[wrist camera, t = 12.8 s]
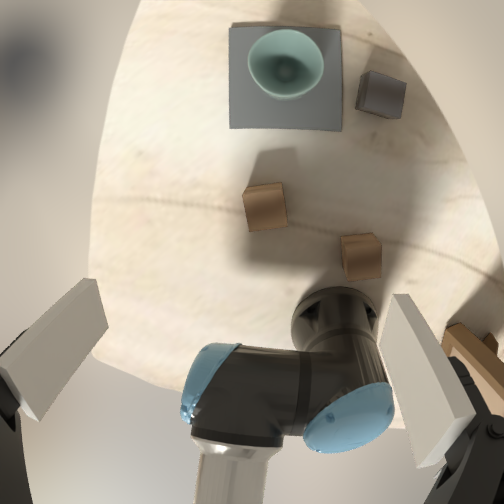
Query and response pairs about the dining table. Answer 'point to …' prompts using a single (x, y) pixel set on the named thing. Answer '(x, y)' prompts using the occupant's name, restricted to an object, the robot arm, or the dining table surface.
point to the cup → (286, 64)
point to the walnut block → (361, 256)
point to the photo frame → (478, 363)
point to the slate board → (284, 112)
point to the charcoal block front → (381, 95)
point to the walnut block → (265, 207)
